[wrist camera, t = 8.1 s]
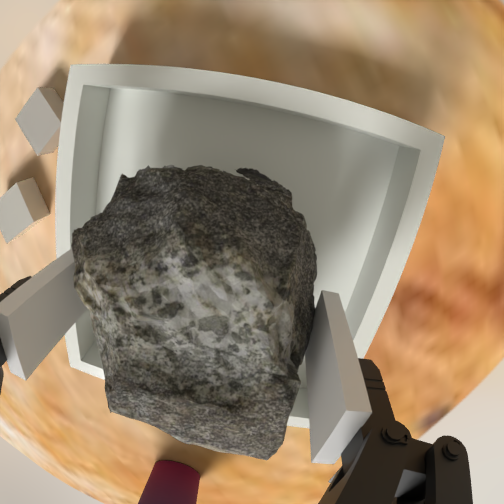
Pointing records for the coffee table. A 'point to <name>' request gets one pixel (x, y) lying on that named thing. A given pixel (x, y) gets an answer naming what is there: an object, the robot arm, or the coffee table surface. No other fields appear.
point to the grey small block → (21, 209)
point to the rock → (200, 303)
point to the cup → (171, 484)
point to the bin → (258, 158)
